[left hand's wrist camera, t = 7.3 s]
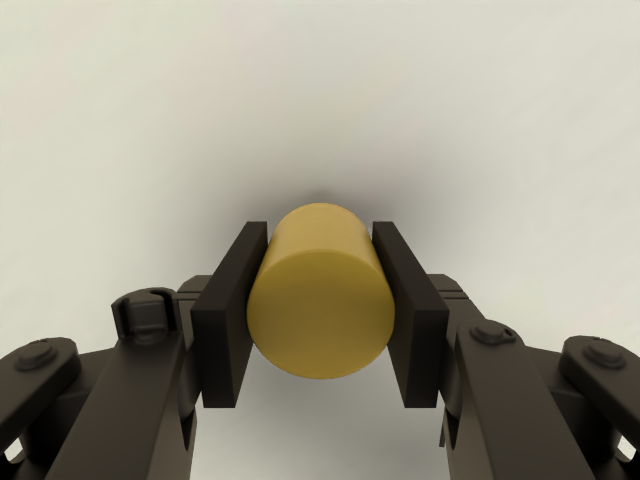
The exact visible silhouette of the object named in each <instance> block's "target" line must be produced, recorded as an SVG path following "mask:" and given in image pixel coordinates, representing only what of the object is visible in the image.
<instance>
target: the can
mask: <svg viewBox="0 0 640 480" xmlns="http://www.w3.org/2000/svg"><path fill="white" fill-rule="evenodd" d="M394 318H395V301H394V297H393V294H392V291H391V289H390V286H389V284H388V281H387V278H386V276H385V273H384V271H383V268H382V266H381V263H380V261H379V258H378V256H377V253H376V251H375V248H374V246H373V243H372V241H371V238H370V236H369V233H368V231H367V229H366V227H365V226H364V224H363V223H362V222H361V220H360V219H359V218H358V217H357V216H355V215H354V214H353V213H352V212H350V211H348V210H347V209H345V208H343V207H340V206H337V205H334V204H329V203H312V204H308V205H304V206H301V207H299V208H297V209H295V210H293V211H291V212H290V213H289V214H287V215H286V216H285V217H284V218H283V219H282V220H281V221H280V222H279V224H278V225H277V227H276V228H275V230H274V232H273V235H272V237H271V240H270V242H269V245H268V247H267V250H266V253H265V255H264V258H263V260H262V263H261V266H260V268H259V271H258V273H257V276H256V279H255V281H254V284H253V286H252V289H251V292H250V294H249V298H248V302H247V309H246V320H247V325H248V329H249V332H250V335H251V338H252V340H253V341H254V343H255V345H256V347H257V348H258V349H259V351H260V352H261V353H262V354H263V355H264V356H265V358H267V359H268V360H269V361H270V362H271V363H272V364H274V365H275V366H277V367H279V368H280V369H282V370H284V371H286V372H288V373H291V374H294V375H296V376H301V377H305V378H312V379H331V378H337V377H342V376H345V375H349V374H351V373H354V372H356V371H358V370H360V369H362V368H363V367H365V366H367V365H368V364H369V363H371V362H372V361H373V360H374V359H375V358H376V357H378V356H379V355H380V353H381V352H382V351H383V350H384V348H385V347H386V345H387V344H388V342H389V340H390V338H391V335H392V333H393V329H394Z"/></svg>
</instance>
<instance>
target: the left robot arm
mask: <svg viewBox="0 0 640 480" xmlns="http://www.w3.org/2000/svg"><path fill="white" fill-rule="evenodd" d="M372 243H373V246H374V248H375V251H376V253H377V256H378V258H379V261H380V263H381V266H382V268H383V271H384V273H385V276H386V278H387V281H388V284H389V286H390V289H391V291H392V294H393V297H394V301H395V318H394V329H393V333H392V335H391V338H390V340H389V342H388V344H387V347H388V350H389V354H390V357H391V361H392V364H393V368H394V371H395V375H396V379H397V382H398V386H399V389H400V393H401V396H402V400H403V403H404V407H405V408H436V404H437V397H438V390H439V391H440V393H441V396H442V398H443V400H444V403H445V410H444V416H443V423H442V429H441V436H440V443H439V447H444V444H445V441H446V449H447V456H448V464H449V471H450V479H451V480H640V357H638V356H637V355H636V354H634V353H632V352H631V351H629V350H627V349H626V348H624V347H622V346H620V345H617V344H615V343H613V342H611V341H609V340H606V339H603V338H601V339H600V338H599V337H594V336H573V337H569V338H568V339H567V340H566V341H565V342H564V345H563V349H562V353H559V352H553V351H548V350H543V349H538V348H533V347H529V346H525V344H524V342H523V340H522V338H521V337H520V336H519V335H518V334H517V333H516V331H514V330H512V329H511V328H509V327H508V326H506V325H504V324H501V323H499V322H496V321H493V320H488V319H485V317H484V316H483V315H482V314H481V312H480V311H479V310H478V308H477V307H476V306H475V305H474V303H473V302H472V301H471V300H470V299H469V297H468V296H467V295H466V293H465V292H463V290H462V288H461V287H460V286H459V285H458V283H457V282H456V281H454V280H453V279H451V278H449V277H448V276H446V275H444V274H426V273H425V271H424V270H423V268H422V266H421V265H420V263H419V262H418V260H417V259H416V257H415V256H414V254H413V253H412V251H411V250H410V248H409V246H408V245H407V243H406V242H405V240H404V239H403V237H402V236H401V234H400V233H399V231H398V229H397V228H396V226H395V225H394V223H393V222H373V231H372ZM267 247H268V236H267V222H247V223H246V224H245V226H244V228H243V229H242V231H241V232H240V234H239V235H238V237H237V238H236V240H235V241H234V243H233V245H232V246H231V248H230V249H229V251H228V252H227V254H226V255H225V257H224V258H223V260H222V261H221V263H220V265H219V266H218V268H217V269H216V271H215V272H214V274H213V275H196V276H194V277H193V278H191V279H189V280H188V281H186V282H184V283H183V284H182V286H181V287H180V288H179V290H178V291H177V292H175V291H174V290H172V289H168V288H164V287H157V288H146V289H141V290H137V291H134V292H131V293H128V294H126V295H124V296H122V297H120V298H118V299H117V300H116V301H115V302H114V303H113V304H112V305H111V308H112V312H113V316H114V321H115V325H116V329H117V334H118V338H119V339H118V341H117V343H116V345H115V347H114V348H110V349H106V350H101V351H95V352H90V353H85V354H80V355H79V354H78V350H77V347H76V343H75V342H74V341H72V340H71V339H68V338H62V337H58V338H45V339H41V340H37V341H33V342H30V343H29V344H27V345H25V346H22V347H20V348H18V349H16V350H14V351H13V352H11V353H9V354H8V355H6V356H5V357H3V358H2V359H1V360H0V480H189V479H190V472H191V464H192V457H193V450H194V442H195V435H196V427H197V417H196V410H195V404H196V402H197V399H198V397H199V394H200V392H202V399H203V406H204V408H235V406H236V402H237V399H238V395H239V392H240V388H241V385H242V381H243V378H244V374H245V371H246V367H247V364H248V360H249V357H250V353H251V350H252V346H253V343H254V341H253V340H252V338H251V335H250V332H249V329H248V325H247V320H246V309H247V302H248V298H249V294H250V292H251V289H252V286H253V284H254V281H255V279H256V276H257V273H258V271H259V268H260V266H261V263H262V260H263V258H264V255H265V253H266V250H267ZM622 435H623V436H624V437H625V438H626V440H627V441H628V442H629V443H630V444H631V445H632V446H633V447H634V448H635V449H636V452H635V454H634V457H633V459H632V460H630V459H629V458H627V457H626V456H625V455H624V454H623V453H622V452H621V451H620V450H619V449H618V448H617V447H618V444H619V442H620V439H621V437H622ZM17 438H19V440H20V443H21V445H22V448H23V449H22V451H21V452H20V453H19V454H18V455H17V456H16V457H15V458H13V459H12V460H11V461H10V462H9V461H8V460H7V458H6V455H5V453H4V451H5V450H6V449H7V448H8V447H9V446H10V445H11V444H12V443H13V442H14V441H15V440H16V439H17Z"/></svg>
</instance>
